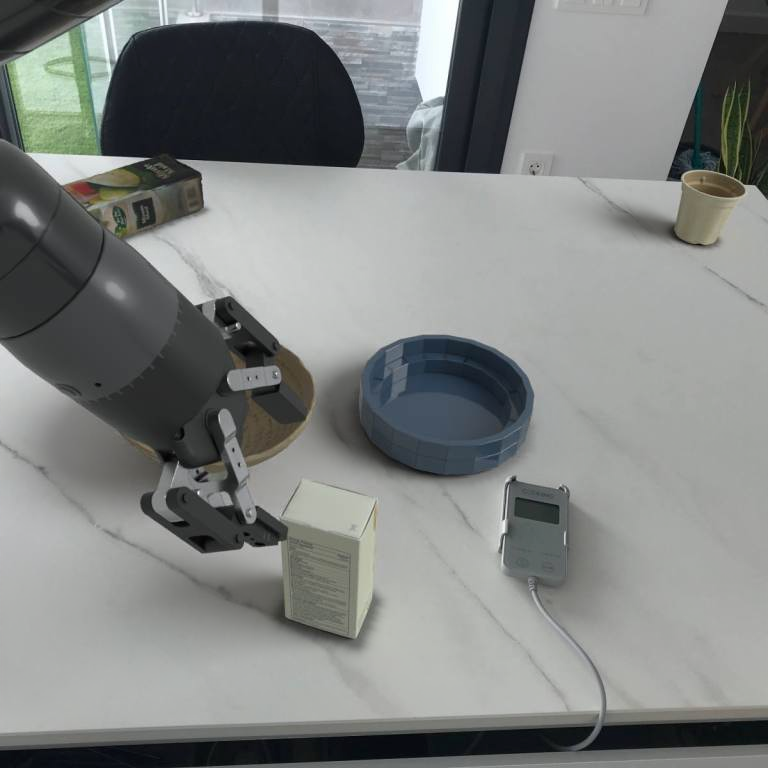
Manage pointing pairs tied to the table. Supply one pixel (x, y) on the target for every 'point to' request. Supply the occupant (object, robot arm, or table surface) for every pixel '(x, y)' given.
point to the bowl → (265, 416)
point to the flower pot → (706, 205)
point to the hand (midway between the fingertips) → (286, 474)
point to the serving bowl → (445, 404)
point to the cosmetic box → (329, 556)
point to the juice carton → (140, 194)
